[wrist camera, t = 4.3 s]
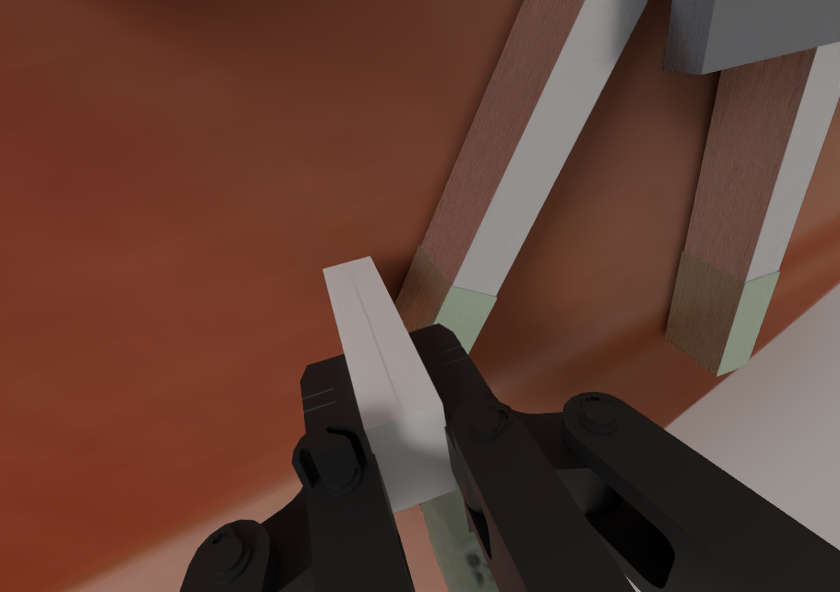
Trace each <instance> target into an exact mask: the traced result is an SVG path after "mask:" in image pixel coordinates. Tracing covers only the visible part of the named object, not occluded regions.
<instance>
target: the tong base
mask: <svg viewBox="0 0 840 592" xmlns="http://www.w3.org/2000/svg"><path fill="white" fill-rule="evenodd" d="M839 97H840V42H836V43H832V44H828V45H823V46H819V47H815V48H811V49H807V50H803V51H798V52H794V53H790V54H786V55H782V56H778V57H773V58H769V59H765V60H761V61H757V62H753V63H748V64H744V65H740V66H736V67H732V68H728V69H723V70H721V75H720V80H719V84H718V89H717V94H716V99H715V104H714V108H713V113H712V118H711V123H710V128H709V133H708V137H707V142H706V147H705V152H704V157H703V162H702V166H701V171H700V176H699V181H698V186H697V191H696V195H695V200H694V205H693V210H692V215H691V220H690V224H689V229H688V234H687V239H686V244H685V248H684V251H682V254H681V259H680V264H679V269H678V274H677V278H676V283H675V288H674V293H673V298H672V303H671V308H670V313H669V318H668V322H667V327H666V332H665V337H664V338H666V339H667V340H668V341H670V342H671V343H672V344H674V345H675V346H676V347H678V348H679V349H680V350H682V351H683V352H684V353H686V354H687V355H688V356H690V357H691V358H692V359H694V360H695V361H696V362H698V363H699V364H700V365H701V366H703V367H704V368H705V369H707V370H708V371H709V372H711V373H712V374H713V375H715V376H716V377H717V376H720V375H722V374H725V373H728V372H730V371H733V370H735V369H738V368H741V367H743V366H746V365H747V364H748V361H749V358H750V356H751V353H752V350H753V347H754V344H755V342H756V339H757V336H758V333H759V330H760V328H761V325H762V322H763V319H764V316H765V313H766V311H767V308H768V305H769V302H770V299H771V297H772V294H773V291H774V288H775V285H776V282H777V280H778V277H779V274H780V271H778V270H779V267H780V265H781V262H782V259H783V256H784V253H785V250H786V248H787V245H788V242H789V239H790V236H791V233H792V231H793V228H794V225H795V222H796V219H797V216H798V213H799V211H800V208H801V205H802V202H803V199H804V196H805V194H806V191H807V188H808V185H809V182H810V179H811V177H812V174H813V171H814V168H815V165H816V162H817V160H818V157H819V154H820V151H821V148H822V145H823V142H824V140H825V137H826V134H827V131H828V128H829V125H830V123H831V120H832V117H833V114H834V111H835V108H836V106H837V103H838V100H839Z"/></svg>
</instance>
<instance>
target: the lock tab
mask: <svg viewBox="0 0 840 592" xmlns="http://www.w3.org/2000/svg"><path fill="white" fill-rule="evenodd" d="M836 42H840V0H672V4H671V12H670V19H669V26H668V33H667V40H666V47H665V54H664V62H663V69H662V71H668V72H678V73H688V74H699V75H703V74H707V73H711V72H715V71H719V70H723V69H728V68H732V67H736V66H740V65H744V64H748V63H753V62H757V61H761V60H765V59H769V58H773V57H778V56H782V55H786V54H790V53H794V52H798V51H803V50H807V49H811V48H815V47H819V46H823V45H828V44H832V43H836Z"/></svg>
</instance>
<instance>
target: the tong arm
mask: <svg viewBox="0 0 840 592" xmlns="http://www.w3.org/2000/svg"><path fill="white" fill-rule="evenodd" d="M647 2H648V0H524V1H523V3H522V6H521V8H520V11H519V13H518V15H517V18H516V20H515V23H514V25H513V27H512V30H511V32H510V34H509V37H508V39H507V42H506V44H505V46H504V49H503V51H502V54H501V56H500V58H499V61H498V63H497V66H496V68H495V70H494V73H493V75H492V77H491V80H490V82H489V85H488V87H487V89H486V92H485V94H484V97H483V99H482V101H481V104H480V106H479V108H478V111H477V113H476V116H475V118H474V120H473V123H472V125H471V128H470V130H469V132H468V135H467V137H466V140H465V142H464V144H463V147H462V149H461V151H460V154H459V156H458V159H457V161H456V163H455V166H454V168H453V171H452V173H451V175H450V178H449V180H448V182H447V185H446V187H445V190H444V192H443V194H442V197H441V199H440V202H439V204H438V206H437V209H436V211H435V214H434V216H433V218H432V221H431V223H430V225H429V228H428V230H427V233H426V235H425V237H424V240H423V242H422V245H419V247H418V249H417V252H416V254H415V256H414V259H413V261H412V264H411V266H410V268H409V271H408V273H407V276H406V278H405V280H404V283H403V285H402V288H401V290H400V292H399V295H398V297H397V300H396V302H395V304H394V306H395V308H396V310H397V312H398V314H399V316H400V318H401V320H402V322H403V324H404V326H405V328H406V330H407V332H408V333H409V332H412V331H415V330H418V329H422V328H425V327H428V326H431V325H434V324H438V323H440V324H441V325H443V326H445V327H446V328H448V329H450V330H451V331H453V332H454V334H455V335H456V337H457V338H458V340H459V341H460V343H461V345H462V347H463V348H464V349H465V351H466V352H467V354H469V352H470V350H471V348H472V346H473V344H474V342H475V340H476V338H477V336H478V335H479V333H480V331H481V329H482V327H483V325H484V323H485V321H486V319H487V317H488V315H489V313H490V311H491V309H492V308H493V306H494V304H495V302H496V300H497V297H496V295H497V293H498V291H499V289H500V287H501V285H502V283H503V281H504V279H505V277H506V275H507V273H508V272H509V270H510V268H511V266H512V264H513V262H514V260H515V258H516V256H517V254H518V252H519V250H520V248H521V246H522V244H523V242H524V241H525V239H526V237H527V235H528V233H529V231H530V229H531V227H532V225H533V223H534V221H535V219H536V217H537V215H538V213H539V211H540V210H541V208H542V206H543V204H544V202H545V200H546V198H547V196H548V194H549V192H550V190H551V188H552V186H553V184H554V182H555V180H556V178H557V177H558V175H559V173H560V171H561V169H562V167H563V165H564V163H565V161H566V159H567V157H568V155H569V153H570V151H571V149H572V147H573V146H574V144H575V142H576V140H577V138H578V136H579V134H580V132H581V130H582V128H583V126H584V124H585V122H586V120H587V118H588V116H589V115H590V113H591V111H592V109H593V107H594V105H595V103H596V101H597V99H598V97H599V95H600V93H601V91H602V89H603V87H604V85H605V83H606V82H607V80H608V78H609V76H610V74H611V72H612V70H613V68H614V66H615V64H616V62H617V60H618V58H619V56H620V54H621V52H622V51H623V49H624V47H625V45H626V43H627V41H628V39H629V37H630V35H631V33H632V31H633V29H634V27H635V25H636V23H637V21H638V20H639V18H640V16H641V14H642V12H643V10H644V8H645V6H646V4H647Z"/></svg>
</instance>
